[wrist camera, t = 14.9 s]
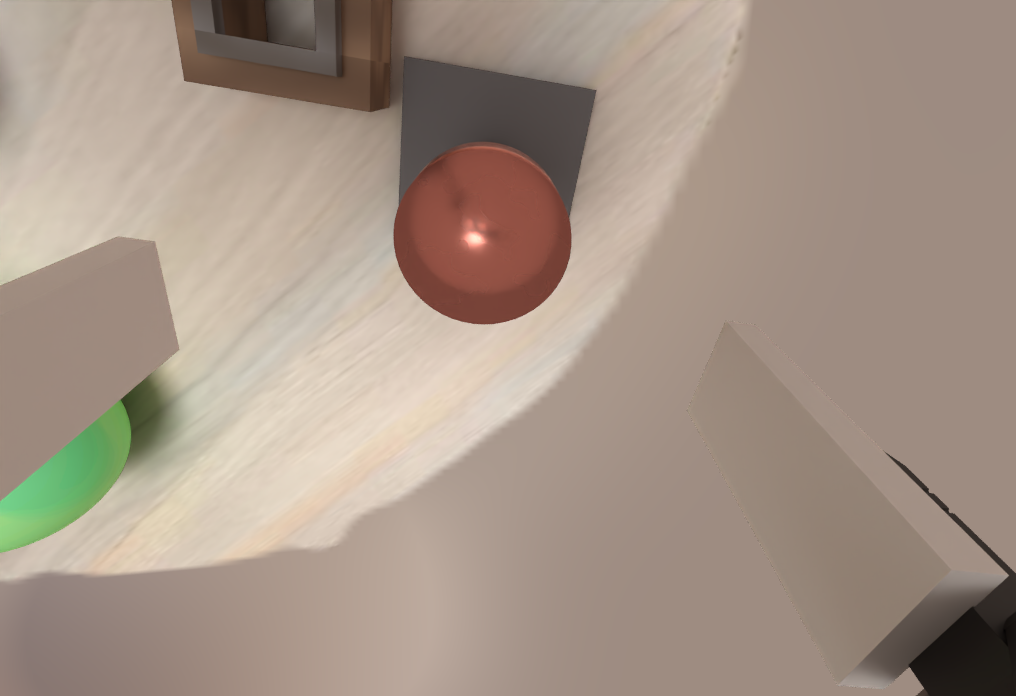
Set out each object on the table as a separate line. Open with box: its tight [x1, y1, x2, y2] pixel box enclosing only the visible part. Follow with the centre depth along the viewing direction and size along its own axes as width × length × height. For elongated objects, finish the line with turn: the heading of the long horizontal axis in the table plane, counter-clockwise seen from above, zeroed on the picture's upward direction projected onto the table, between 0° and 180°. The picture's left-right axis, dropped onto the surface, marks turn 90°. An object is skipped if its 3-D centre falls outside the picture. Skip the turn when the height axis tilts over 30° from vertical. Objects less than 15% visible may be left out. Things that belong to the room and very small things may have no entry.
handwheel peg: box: [394, 142, 571, 324], centre depth 25 cm, size 7×7×16 cm
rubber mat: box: [399, 56, 596, 217], centre depth 32 cm, size 12×12×1 cm
